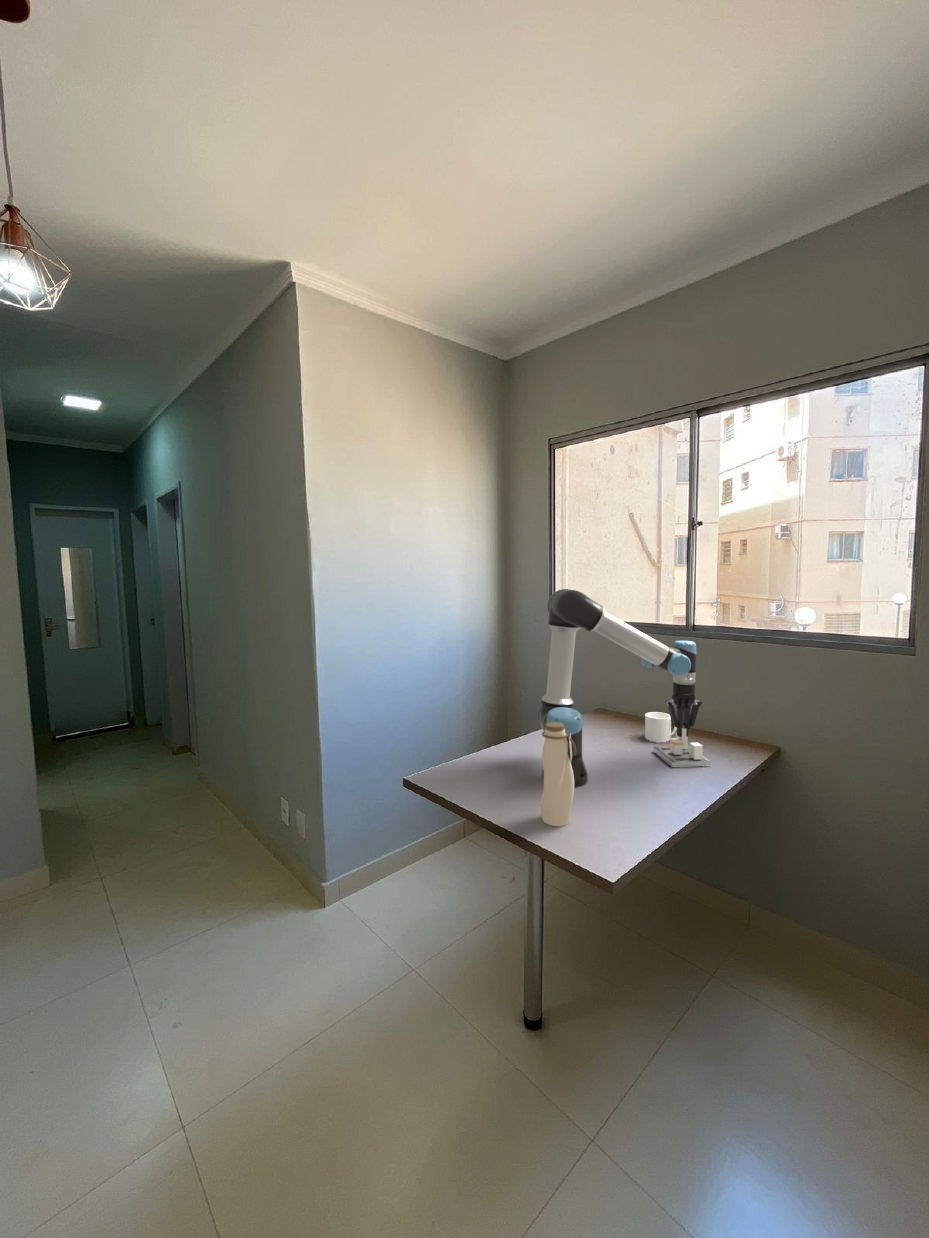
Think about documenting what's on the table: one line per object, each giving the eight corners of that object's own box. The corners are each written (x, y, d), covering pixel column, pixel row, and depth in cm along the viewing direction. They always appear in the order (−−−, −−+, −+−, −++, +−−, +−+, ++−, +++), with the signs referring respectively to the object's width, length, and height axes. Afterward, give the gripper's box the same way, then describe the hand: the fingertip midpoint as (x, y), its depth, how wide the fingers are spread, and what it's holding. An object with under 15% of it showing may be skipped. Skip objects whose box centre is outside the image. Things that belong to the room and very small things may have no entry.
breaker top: (679, 748, 190) (679, 736, 190) (675, 745, 194) (675, 733, 193) (687, 748, 190) (687, 735, 190) (682, 745, 194) (683, 732, 193)
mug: (641, 740, 208) (642, 716, 207) (649, 734, 216) (649, 710, 215) (673, 746, 200) (673, 721, 199) (679, 739, 208) (680, 715, 207)
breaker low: (694, 759, 179) (694, 746, 179) (689, 755, 183) (689, 742, 182) (702, 759, 179) (702, 745, 179) (697, 755, 183) (697, 742, 183)
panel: (672, 767, 178) (672, 762, 178) (653, 752, 194) (653, 746, 194) (710, 766, 179) (710, 760, 179) (688, 750, 195) (688, 745, 195)
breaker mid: (674, 754, 184) (674, 741, 184) (669, 751, 188) (670, 738, 188) (682, 754, 185) (682, 741, 184) (677, 750, 188) (678, 737, 188)
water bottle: (572, 811, 148) (571, 719, 145) (580, 826, 139) (579, 728, 136) (537, 812, 148) (536, 720, 145) (543, 827, 139) (542, 729, 136)
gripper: (671, 685, 180) (669, 748, 182) (706, 684, 181) (704, 747, 183) (662, 680, 188) (660, 741, 190) (696, 680, 188) (694, 741, 190)
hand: (682, 744), depth 186 cm, fingers closed
